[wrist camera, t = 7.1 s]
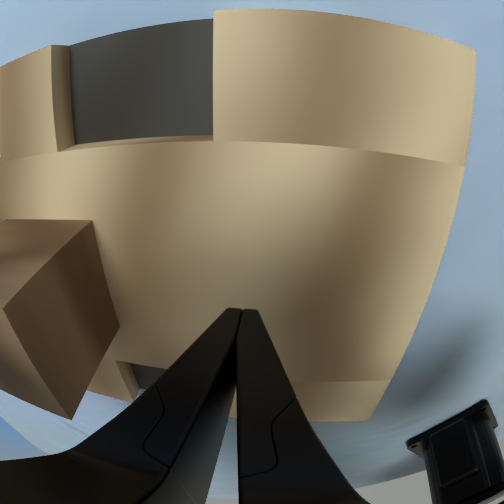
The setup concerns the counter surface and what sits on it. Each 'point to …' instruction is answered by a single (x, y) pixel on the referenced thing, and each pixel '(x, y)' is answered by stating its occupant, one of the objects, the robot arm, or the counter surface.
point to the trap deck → (251, 185)
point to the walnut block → (52, 311)
